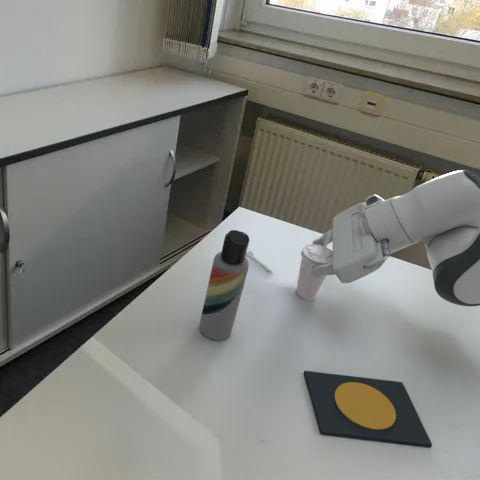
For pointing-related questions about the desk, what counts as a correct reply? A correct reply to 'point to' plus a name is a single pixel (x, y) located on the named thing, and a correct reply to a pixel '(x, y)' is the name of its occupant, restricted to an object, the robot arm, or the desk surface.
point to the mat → (365, 409)
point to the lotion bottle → (225, 287)
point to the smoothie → (311, 257)
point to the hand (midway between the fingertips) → (313, 259)
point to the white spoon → (258, 261)
